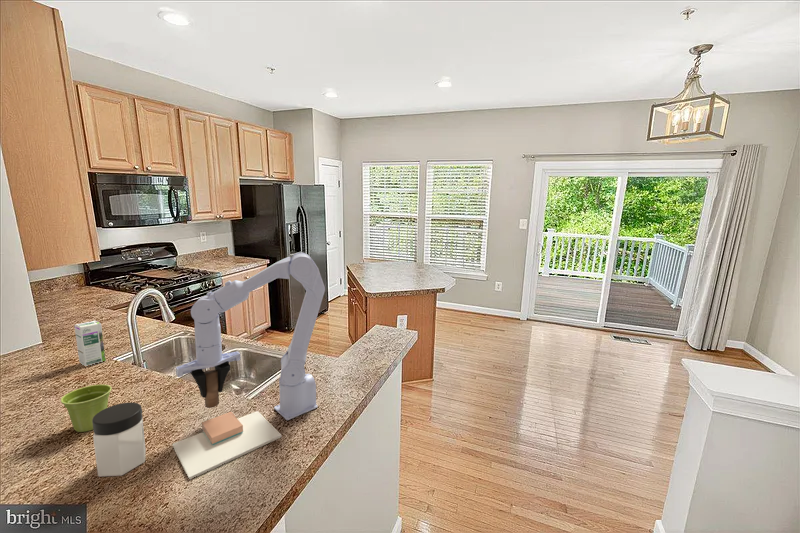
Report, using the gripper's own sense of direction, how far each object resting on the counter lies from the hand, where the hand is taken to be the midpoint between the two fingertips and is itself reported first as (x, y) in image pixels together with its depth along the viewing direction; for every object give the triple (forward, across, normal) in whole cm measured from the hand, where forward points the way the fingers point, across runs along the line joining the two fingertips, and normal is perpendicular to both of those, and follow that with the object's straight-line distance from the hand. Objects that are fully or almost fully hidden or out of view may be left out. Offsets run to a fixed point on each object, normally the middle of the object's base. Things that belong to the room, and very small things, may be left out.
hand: (211, 393), depth 88 cm
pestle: (+3, 0, 0) cm, 3 cm away
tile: (+6, 0, +3) cm, 7 cm away
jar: (+8, +19, +3) cm, 21 cm away
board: (+8, 0, +11) cm, 14 cm away
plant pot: (+8, +23, -19) cm, 31 cm away
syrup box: (+8, +19, -65) cm, 69 cm away
